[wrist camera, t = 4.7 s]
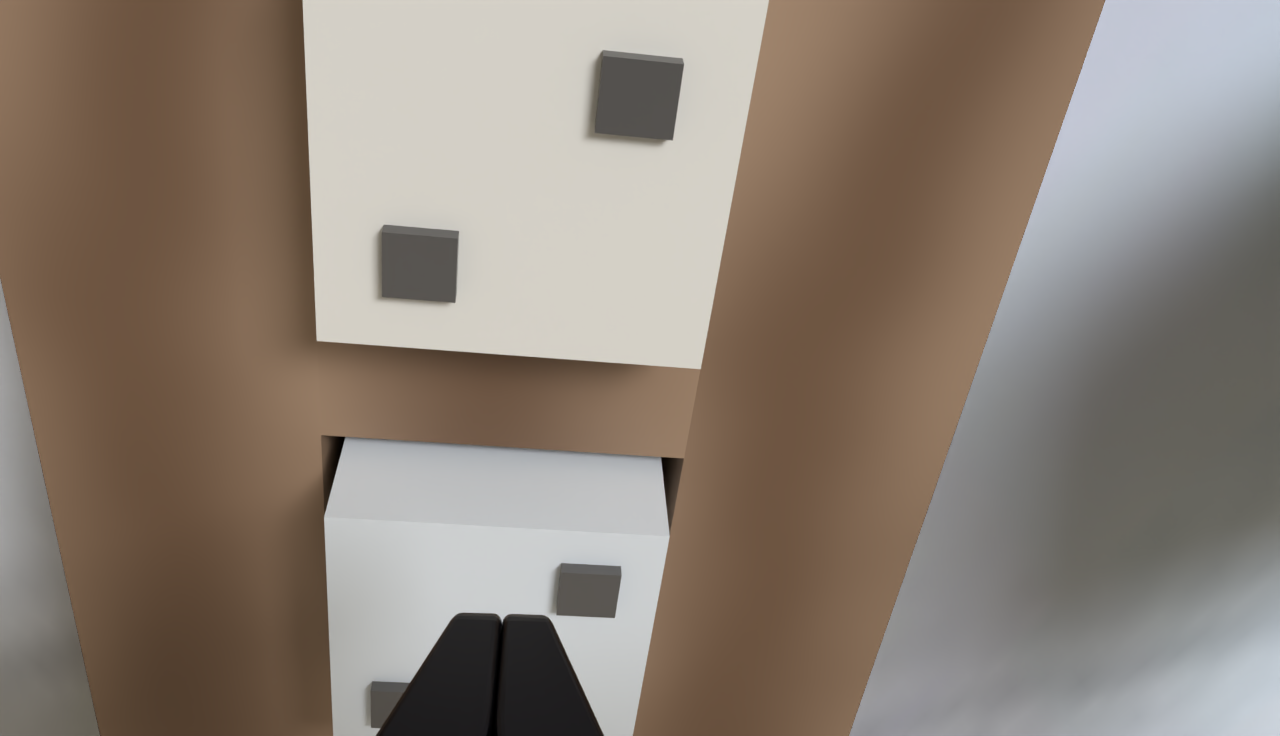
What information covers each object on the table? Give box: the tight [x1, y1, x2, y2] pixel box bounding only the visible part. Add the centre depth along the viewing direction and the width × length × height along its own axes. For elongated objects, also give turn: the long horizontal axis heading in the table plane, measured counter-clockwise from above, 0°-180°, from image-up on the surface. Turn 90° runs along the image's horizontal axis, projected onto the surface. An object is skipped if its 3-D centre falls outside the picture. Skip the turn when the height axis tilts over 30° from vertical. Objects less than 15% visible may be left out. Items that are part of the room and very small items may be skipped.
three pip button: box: [324, 437, 670, 736], centre depth 19 cm, size 5×5×3 cm
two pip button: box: [303, 0, 769, 369], centre depth 15 cm, size 5×5×3 cm
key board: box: [0, 0, 1105, 736], centre depth 20 cm, size 14×24×3 cm, turn 173°
